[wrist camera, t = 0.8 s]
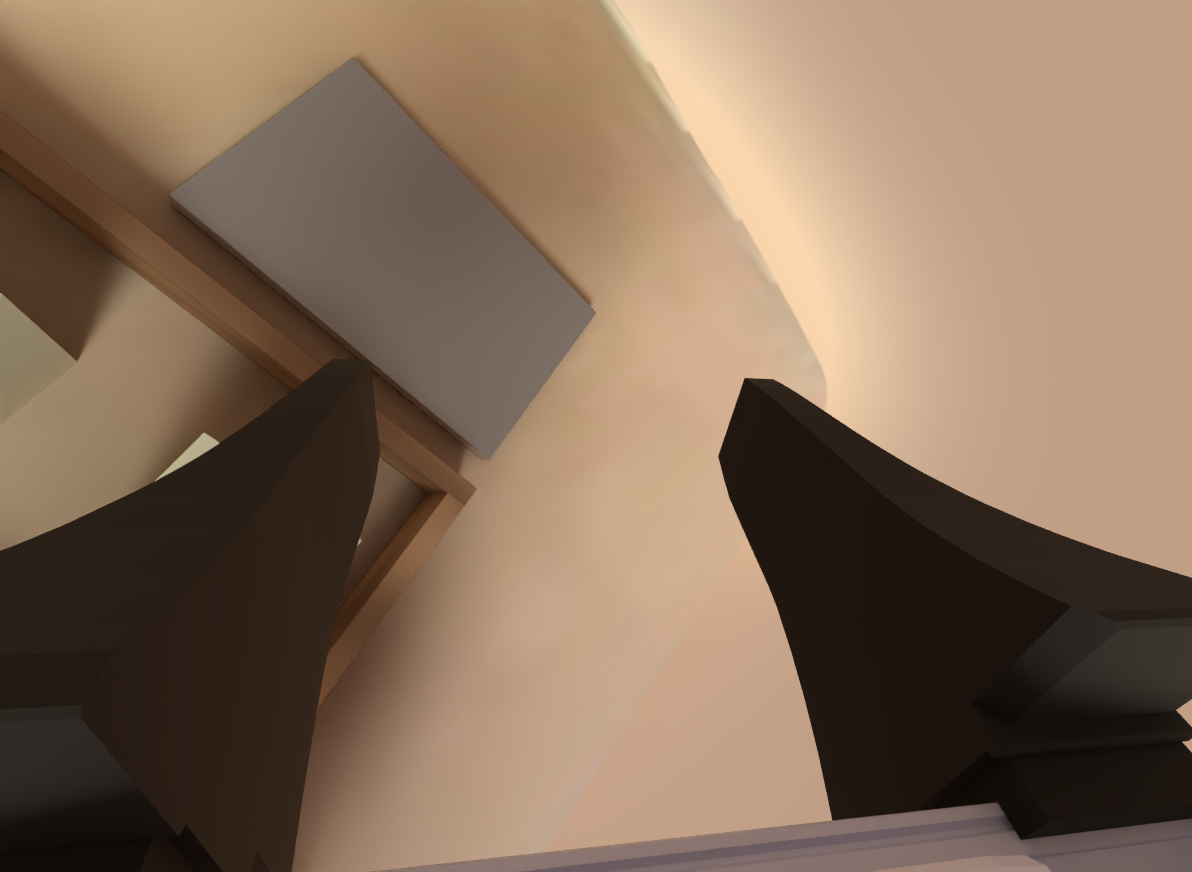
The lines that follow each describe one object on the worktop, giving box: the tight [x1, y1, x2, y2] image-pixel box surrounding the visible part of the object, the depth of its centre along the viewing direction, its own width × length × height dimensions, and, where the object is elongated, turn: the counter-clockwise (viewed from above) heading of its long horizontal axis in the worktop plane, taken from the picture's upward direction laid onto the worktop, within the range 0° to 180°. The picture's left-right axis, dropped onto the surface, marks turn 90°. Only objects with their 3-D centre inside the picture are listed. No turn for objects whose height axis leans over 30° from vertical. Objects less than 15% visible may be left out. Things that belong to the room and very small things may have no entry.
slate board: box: [169, 57, 596, 460], centre depth 23 cm, size 9×14×1 cm, turn 53°
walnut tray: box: [0, 110, 477, 709], centre depth 16 cm, size 13×20×2 cm, turn 53°
